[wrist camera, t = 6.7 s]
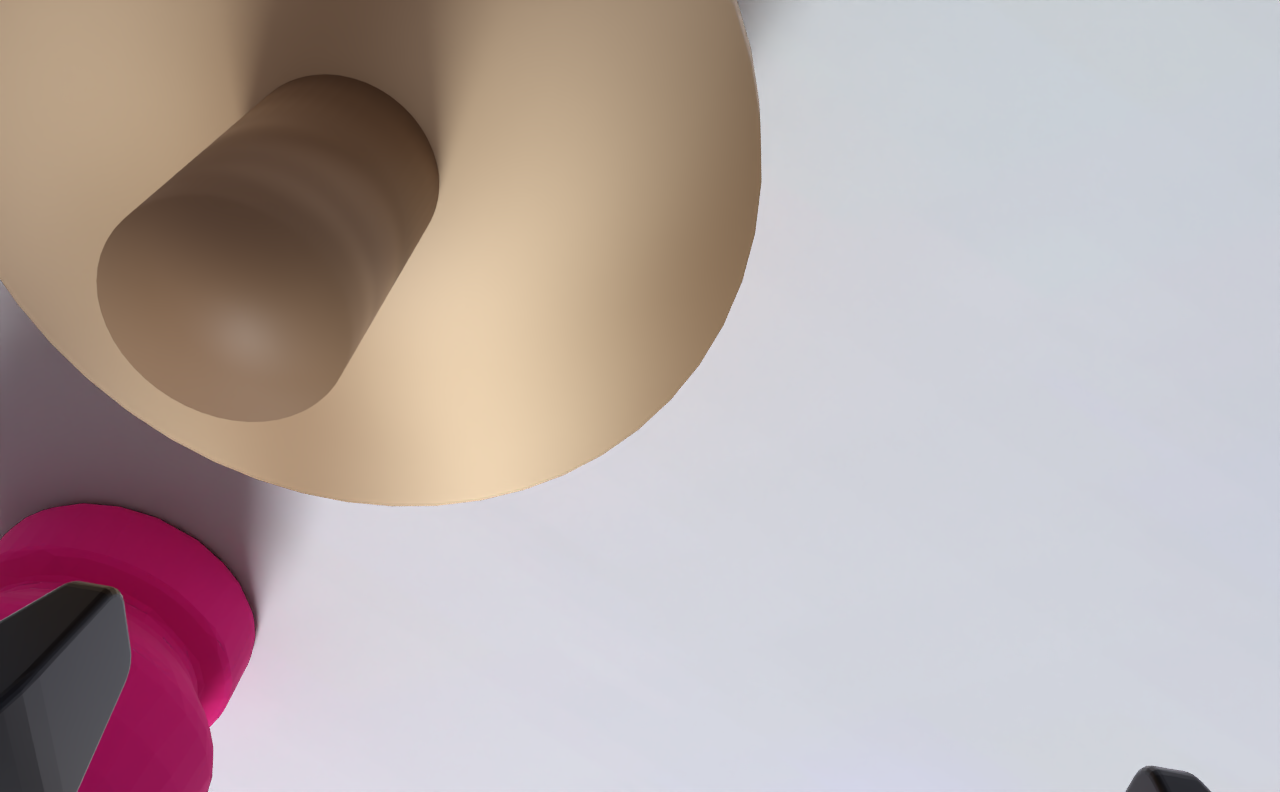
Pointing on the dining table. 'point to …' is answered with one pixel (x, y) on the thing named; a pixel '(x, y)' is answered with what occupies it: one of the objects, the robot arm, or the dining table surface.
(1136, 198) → the dining table surface
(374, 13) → the lid
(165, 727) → the pepper mill
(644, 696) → the dining table surface
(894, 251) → the dining table surface
